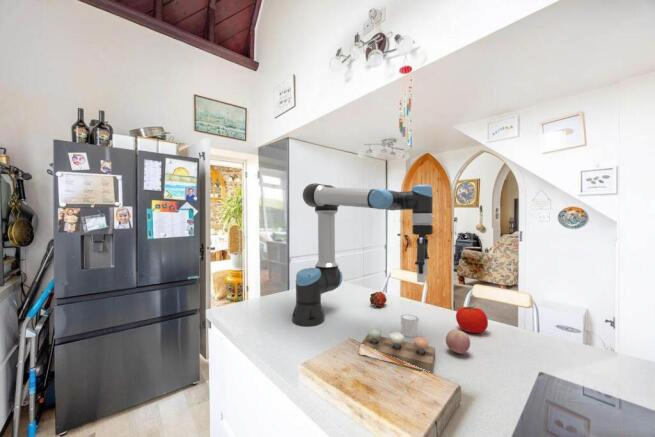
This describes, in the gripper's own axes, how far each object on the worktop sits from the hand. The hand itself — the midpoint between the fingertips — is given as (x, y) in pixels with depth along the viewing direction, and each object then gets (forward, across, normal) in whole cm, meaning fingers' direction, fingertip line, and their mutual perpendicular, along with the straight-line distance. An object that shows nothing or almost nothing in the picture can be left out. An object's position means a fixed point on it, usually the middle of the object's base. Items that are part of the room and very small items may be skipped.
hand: (422, 278), depth 103 cm
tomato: (+24, +17, -18) cm, 35 cm away
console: (+24, -16, +7) cm, 30 cm away
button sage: (+22, -16, +15) cm, 31 cm away
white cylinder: (+24, +3, +6) cm, 25 cm away
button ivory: (+23, -16, +7) cm, 29 cm away
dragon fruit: (+24, +32, +26) cm, 48 cm away
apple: (+24, -5, -12) cm, 28 cm away
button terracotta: (+22, -17, -1) cm, 28 cm away
